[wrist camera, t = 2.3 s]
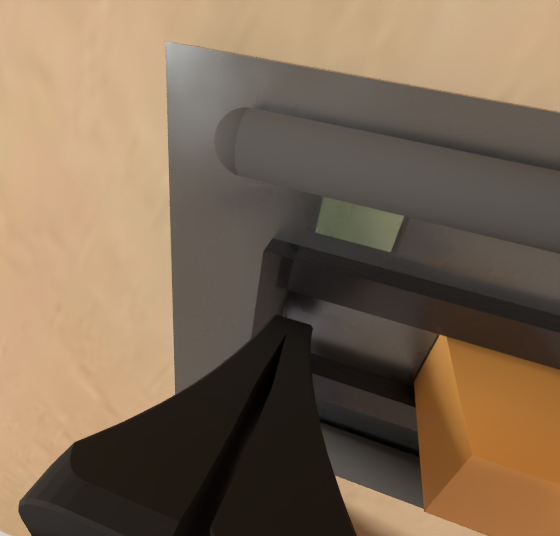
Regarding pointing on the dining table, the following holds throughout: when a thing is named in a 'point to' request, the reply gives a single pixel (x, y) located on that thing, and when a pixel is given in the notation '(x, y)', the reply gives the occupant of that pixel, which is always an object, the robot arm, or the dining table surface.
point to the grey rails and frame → (398, 200)
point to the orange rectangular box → (489, 440)
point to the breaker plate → (346, 241)
